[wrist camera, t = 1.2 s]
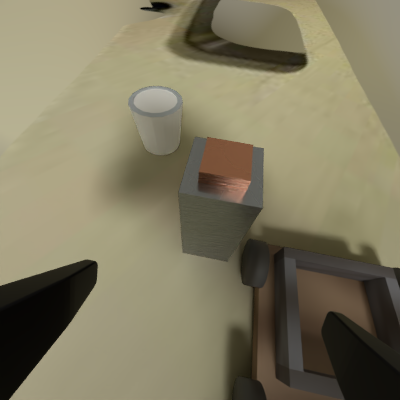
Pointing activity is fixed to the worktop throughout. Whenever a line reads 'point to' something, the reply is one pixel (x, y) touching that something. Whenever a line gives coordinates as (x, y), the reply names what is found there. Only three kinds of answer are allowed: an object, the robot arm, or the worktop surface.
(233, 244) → the engine block
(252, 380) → the chassis
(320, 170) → the worktop surface
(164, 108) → the shot glass
